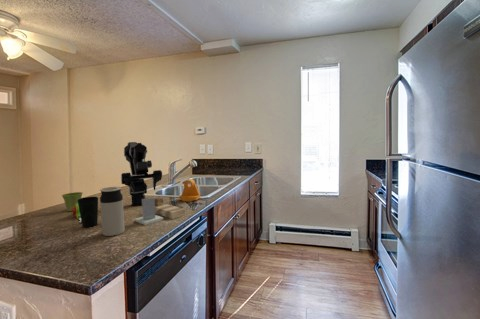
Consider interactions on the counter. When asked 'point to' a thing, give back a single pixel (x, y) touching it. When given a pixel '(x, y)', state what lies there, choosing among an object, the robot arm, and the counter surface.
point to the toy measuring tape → (76, 212)
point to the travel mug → (112, 211)
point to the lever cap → (148, 208)
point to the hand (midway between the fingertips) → (144, 190)
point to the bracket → (190, 191)
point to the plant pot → (71, 199)
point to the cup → (88, 211)
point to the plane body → (167, 209)
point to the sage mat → (148, 220)
